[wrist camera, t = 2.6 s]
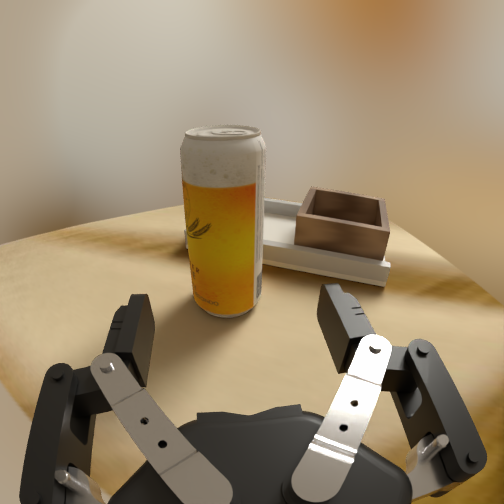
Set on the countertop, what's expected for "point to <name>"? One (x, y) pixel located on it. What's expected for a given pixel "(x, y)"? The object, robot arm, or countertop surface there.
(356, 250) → the crate
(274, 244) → the tray
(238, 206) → the beer can
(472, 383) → the countertop surface
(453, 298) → the countertop surface
